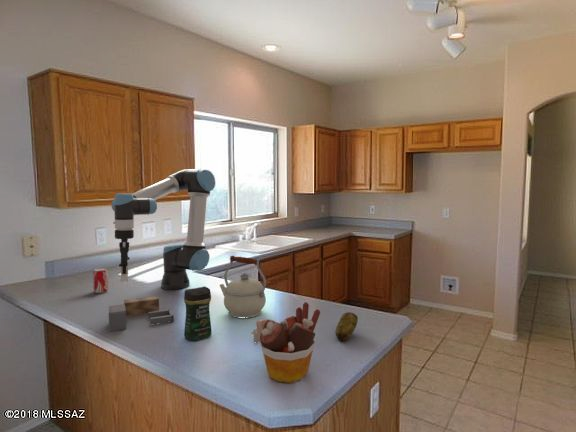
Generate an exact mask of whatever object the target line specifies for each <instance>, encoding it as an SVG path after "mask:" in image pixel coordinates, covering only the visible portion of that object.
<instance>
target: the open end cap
mask: <svg viewBox="0 0 576 432" xmlns="http://www.w3.org/2000/svg"><path fill="white" fill-rule="evenodd" d="M147 314H148V319H149V322H150V325H151V324H154V325H158V324H157V323H161V324H164V323H163V322H167V323H169V322H168V321H174V320H175V318H174V317H175V316H174V314H173V311H172V310H171V308H170V309H169V308H168V309H163V310H162V309H159V311H153V312H148V313H147ZM174 322H175V321H174Z"/></svg>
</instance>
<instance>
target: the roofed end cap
mask: <svg viewBox="0 0 576 432" xmlns="http://www.w3.org/2000/svg"><path fill="white" fill-rule="evenodd" d="M108 325H109V327H108V328H109V329H108V330H109V332H115V331H120V330H121V329H122V330H126V329H127V316H126V310H125V304H124V303H123V304H113V305H108ZM122 330H121V331H122Z"/></svg>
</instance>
